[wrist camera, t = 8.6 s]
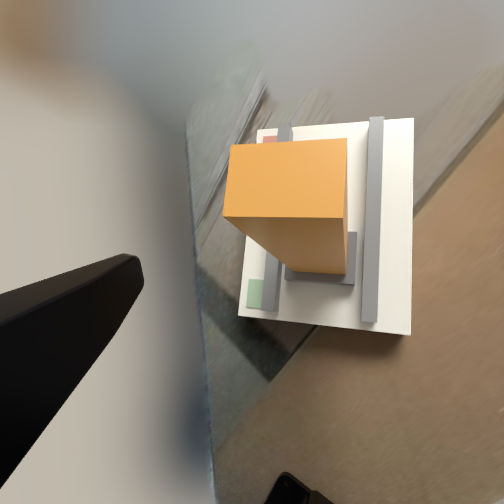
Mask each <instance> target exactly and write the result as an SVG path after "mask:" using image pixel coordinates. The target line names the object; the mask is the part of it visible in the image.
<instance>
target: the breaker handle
mask: <svg viewBox="0 0 504 504" xmlns="http://www.w3.org/2000/svg"><path fill="white" fill-rule="evenodd" d="M223 217H224V218H225V219H227V220H228V221H229V222H230V223H232V224H233V225H234V226H236V227H237V228H238V229H239V230H241V231H242V232H243V233H245V234H246V235H247V236H248V237H250V238H251V239H252V240H254V241H255V242H256V243H257V244H259V245H260V246H261V247H263V248H264V249H265V250H266V251H268V252H269V253H270V254H272V255H273V256H274V257H275V258H277V259H278V260H279V261H281V262H282V263H283V264H284V265H285V274H284V279H285V280H287V281H297V282H311V283H324V284H337V285H351V286H355V273H356V251H357V232H348V185H347V138H336V139H320V140H305V141H289V142H273V143H257V144H241V145H231V151H230V159H229V168H228V176H227V184H226V193H225V201H224V209H223Z"/></svg>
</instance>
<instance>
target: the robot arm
mask: <svg viewBox="0 0 504 504" xmlns="http://www.w3.org/2000/svg"><path fill="white" fill-rule="evenodd" d="M143 286H144V277H143V272H142V267H141V263H140V260H139V258H138V257H137V256H134V255H130V254H119V255H116V256H114V257H111V258H107V259H105V260H102V261H99V262H95V263H92V264H89V265H86V266H83V267H81V268H77V269H74V270H72V271H68V272H65V273H62V274H59V275H57V276H54V277H50V278H47V279H44V280H41V281H38V282H35V283H33V284H30V285H26V286H23V287H21V288H17V289H15V290H12V291H8V292H5V293H2V294H0V489H1V487H2V486H3V485H4V483H5V482H6V481H7V479H8V478H9V476H10V475H11V474H12V473H13V471H14V470H15V469H16V467H17V466H18V464H19V463H20V462H21V460H22V459H23V458H24V457H25V455H26V454H27V452H28V451H29V450H30V448H31V447H32V446H33V444H34V443H35V442H36V440H37V439H38V438H39V436H40V435H41V433H42V432H43V431H44V430H45V428H46V427H47V425H48V424H49V423H50V421H51V420H52V419H53V417H54V416H55V415H56V413H57V412H58V411H59V409H60V408H61V407H62V405H63V404H64V403H65V401H66V400H67V399H68V397H69V396H70V395H71V393H72V392H73V391H74V389H75V388H76V386H77V385H78V384H79V382H80V381H81V380H82V378H83V377H84V376H85V374H86V373H87V372H88V370H89V369H90V368H91V366H92V365H93V363H94V362H95V361H96V360H97V358H98V357H99V356H100V354H101V353H102V351H103V350H104V349H105V347H106V346H107V345H108V343H109V342H110V341H111V339H112V338H113V336H114V335H115V333H116V332H117V330H118V329H119V327H120V325H121V324H122V322H123V320H124V319H125V317H126V315H127V314H128V312H129V310H130V309H131V307H132V305H133V304H134V302H135V300H136V299H137V297H138V295H139V294H140V292H141V290H142V288H143ZM282 480H287V481H288V482H289V485H288V486H286V485H284V484H283V482H282ZM264 504H333V503H332V502H331V501H329V500H328V499H327V498H326V497H324V496H323V495H322V494H321V493H319V492H318V491H316V490H310V489H309V488H308V487H307V486H305V485H304V484H303V483H302V482H300V481H299V480H298V479H296V478H295V477H294V476H293V475H291V474H290V473H288V472H282V473H281V474H280V475H279V477H278V479H277V481H276V483H275V484H274V486H273V488H272V490H271V492H270V494H269V496H268V498H267V500H266V501H265V503H264Z"/></svg>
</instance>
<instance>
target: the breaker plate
mask: <svg viewBox="0 0 504 504" xmlns="http://www.w3.org/2000/svg"><path fill="white" fill-rule="evenodd" d="M336 138H347V185H348V232H357V251H356V273H355V286H351V285H337V284H324V283H311V282H297V281H287V280H285V279H284V274H285V265H284V264H283V263H282V262H281V261H279V260H278V259H277V258H275V257H274V256H273V255H272V254H270V253H269V252H268V251H266V250H265V249H264V248H263V247H261V246H260V245H259V244H257V243H256V242H255V241H254V240H252V239H251V238H250V237H248V236H246V246H245V255H244V265H243V274H242V284H241V293H240V302H239V312H238V316H246V317H255V318H264V319H272V320H281V321H290V322H298V323H307V324H316V325H324V326H333V327H342V328H351V329H359V330H368V331H377V332H385V333H394V334H403V335H411V276H412V210H413V145H414V118H407V119H393V120H384V116H380V117H370V119H369V121H368V122H355V123H341V124H328V125H315V126H302V127H291V124H281V125H278V128H276V129H263V130H258V132H257V142H256V144H257V143H273V142H289V141H305V140H320V139H336Z"/></svg>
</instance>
